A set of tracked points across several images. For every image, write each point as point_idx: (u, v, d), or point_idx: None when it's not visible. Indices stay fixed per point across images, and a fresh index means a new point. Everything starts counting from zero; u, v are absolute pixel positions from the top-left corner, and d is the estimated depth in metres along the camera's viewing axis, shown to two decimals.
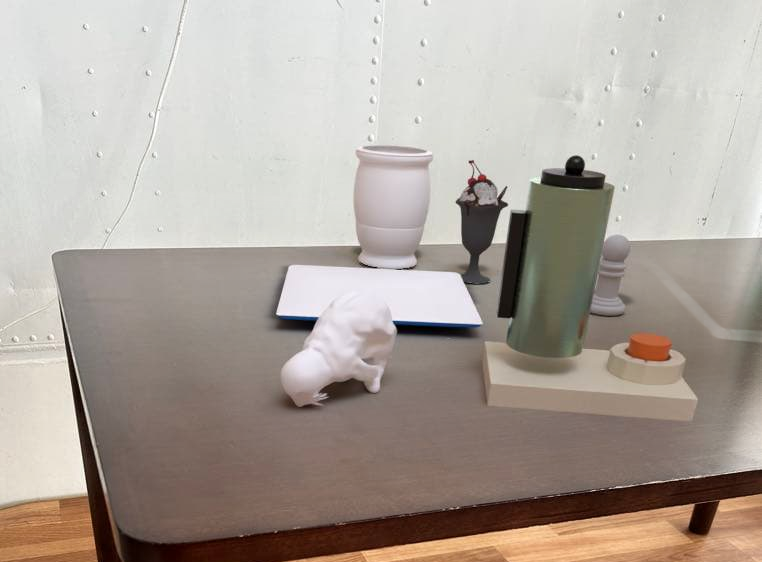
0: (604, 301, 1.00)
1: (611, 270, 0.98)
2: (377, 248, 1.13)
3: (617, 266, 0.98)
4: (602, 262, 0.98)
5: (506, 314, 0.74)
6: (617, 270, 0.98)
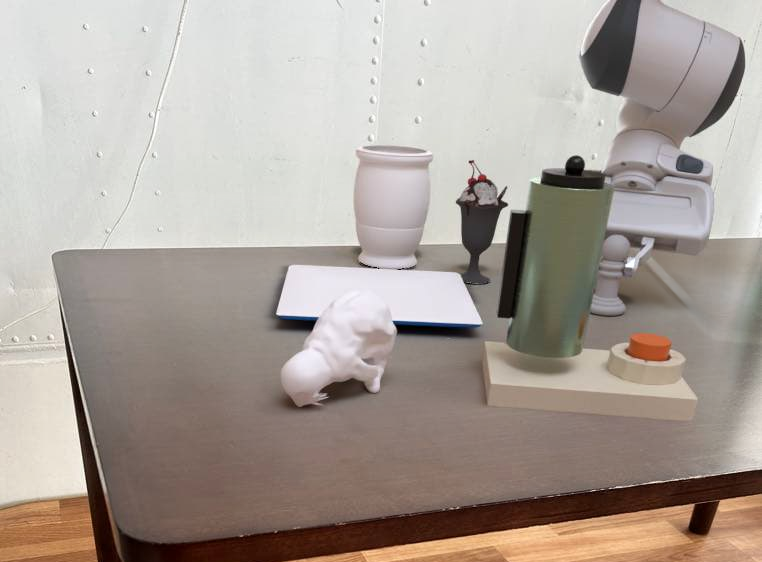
0: (604, 301, 1.00)
1: (611, 270, 0.98)
2: (377, 248, 1.13)
3: (617, 266, 0.98)
4: (602, 262, 0.98)
5: (506, 314, 0.74)
6: (617, 270, 0.98)
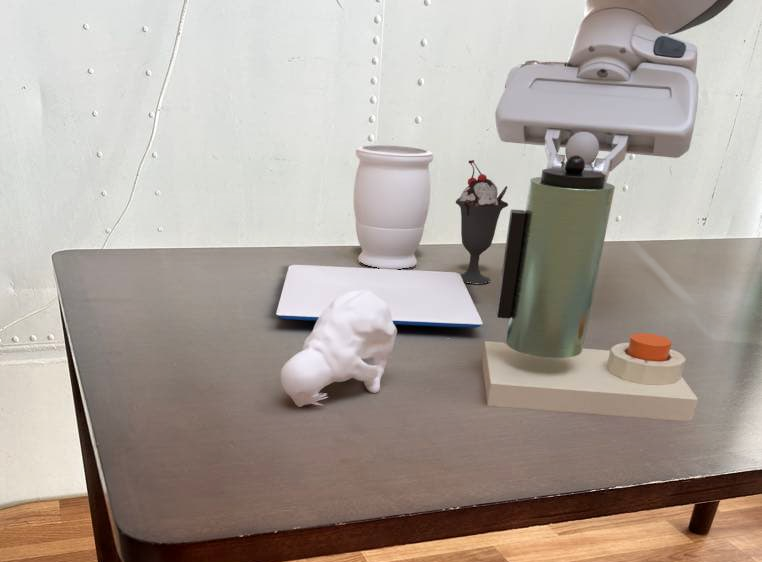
0: None
1: None
2: (377, 248, 1.13)
3: None
4: None
5: (506, 314, 0.74)
6: None
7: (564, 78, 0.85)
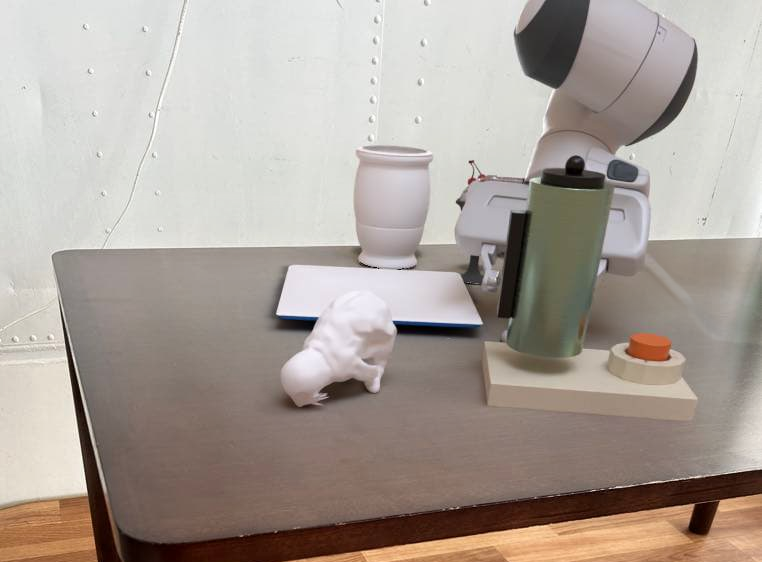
0: None
1: None
2: (377, 248, 1.13)
3: None
4: None
5: (506, 314, 0.74)
6: None
7: (521, 196, 0.87)
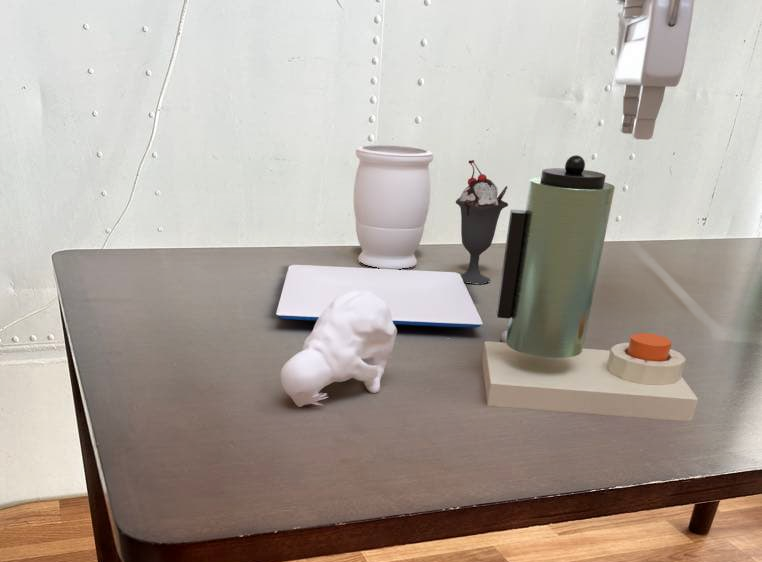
0: None
1: None
2: (377, 248, 1.13)
3: None
4: None
5: (506, 314, 0.74)
6: None
7: None
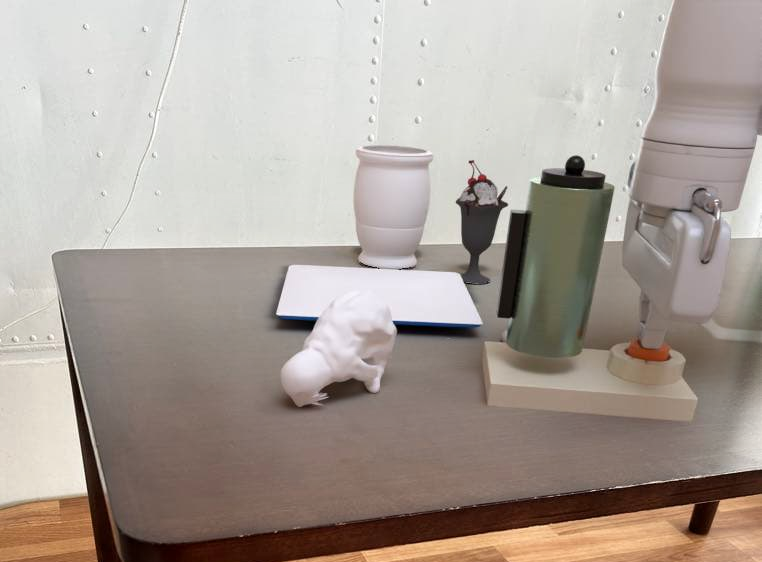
0: None
1: None
2: (377, 248, 1.13)
3: None
4: None
5: (506, 314, 0.74)
6: None
7: None
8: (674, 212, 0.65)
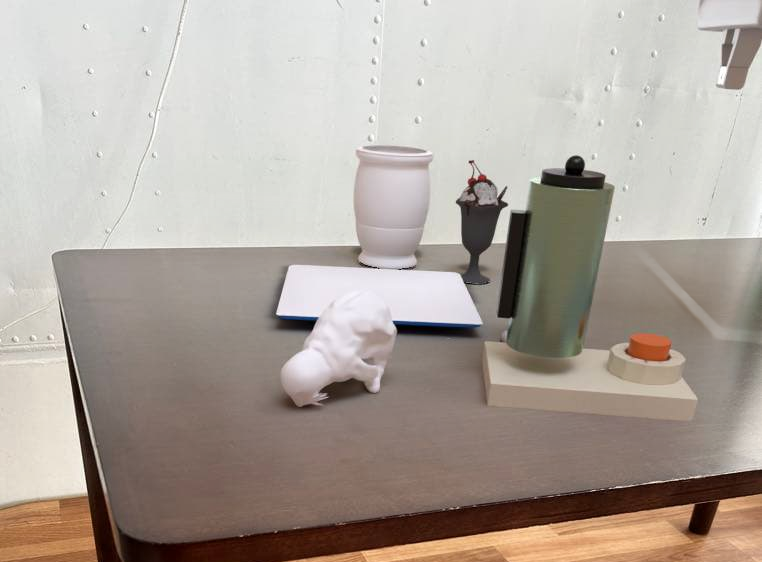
0: None
1: None
2: (377, 248, 1.13)
3: None
4: None
5: (506, 314, 0.74)
6: None
7: None
8: None
